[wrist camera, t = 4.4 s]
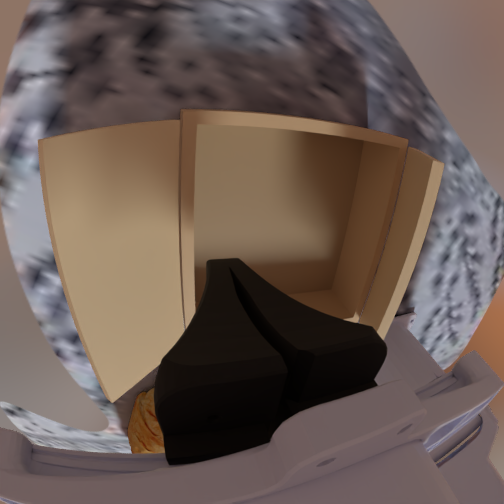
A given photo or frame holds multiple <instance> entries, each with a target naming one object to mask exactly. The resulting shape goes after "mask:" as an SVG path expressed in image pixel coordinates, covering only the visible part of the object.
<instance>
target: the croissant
mask: <svg viewBox="0 0 504 504" xmlns="http://www.w3.org/2000/svg"><path fill="white" fill-rule="evenodd" d="M128 438H129V444H130V446H131V451H132V454H147V453H165V449H164V441H163V434H162V431H161V429H160V426H159V423H158V421H157V418H156V415H155V407H154V388H152V389H151V390H149V391H148V392H147V393H146V392H142V393H141V394H139V395H138V396H137V398H136V401H135V404H134V408H133V410H132V415H131V418H130V421H129V425H128Z"/></svg>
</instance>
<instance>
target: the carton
mask: <svg viewBox="0 0 504 504" xmlns="http://www.w3.org/2000/svg"><path fill="white" fill-rule="evenodd" d="M407 146H408V139H405V138H402V137H398V136H395V135H391V134H387V133H384V132H380V131H376V130H372V129H368V128H363V127H359V126H354V125H349V124H343V123H338V122H332V121H326V120H320V119H314V118H307V117H299V116H292V115H283V114H274V113H264V112H252V111H237V110H217V109H181V111H180V136H179V176H178V215H179V255H180V278H181V296H182V310H183V318H184V326H185V330H186V328H187V327H188V325H189V323H190V322H191V320H192V318H193V316H194V314H195V312H196V310H197V308H198V305H199V303H200V300H201V297H202V294H203V291H204V288H205V283H206V262H207V261H208V260H209V259H226V258H239V259H240V260H242V261H243V262H244V263H245V264H246V265H247V266H249V267H250V268H251V269H252V270H253V271H255V272H256V273H257V274H258V275H259V276H261V277H262V278H263V279H265V280H266V281H267V282H269V283H270V284H271V285H273V286H274V287H276V288H277V289H279V290H280V291H281V292H283V293H285V294H286V295H288V296H290V297H291V298H293V299H295V300H297V301H299V302H300V303H302V304H304V305H307V306H309V307H311V308H313V309H316V310H318V311H320V312H323V313H325V314H328V315H331V316H334V317H337V318H340V319H343V320H347V321H351V322H355V323H357V322H358V320H359V317H360V315H361V312H362V310H363V307H364V304H365V301H366V299H367V296H368V293H369V290H370V287H371V284H372V281H373V278H374V275H375V272H376V269H377V266H378V263H379V260H380V257H381V253H382V250H383V247H384V243H385V240H386V237H387V233H388V229H389V226H390V222H391V218H392V214H393V211H394V207H395V203H396V198H397V194H398V190H399V186H400V181H401V177H402V172H403V167H404V162H405V157H406V152H407Z"/></svg>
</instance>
